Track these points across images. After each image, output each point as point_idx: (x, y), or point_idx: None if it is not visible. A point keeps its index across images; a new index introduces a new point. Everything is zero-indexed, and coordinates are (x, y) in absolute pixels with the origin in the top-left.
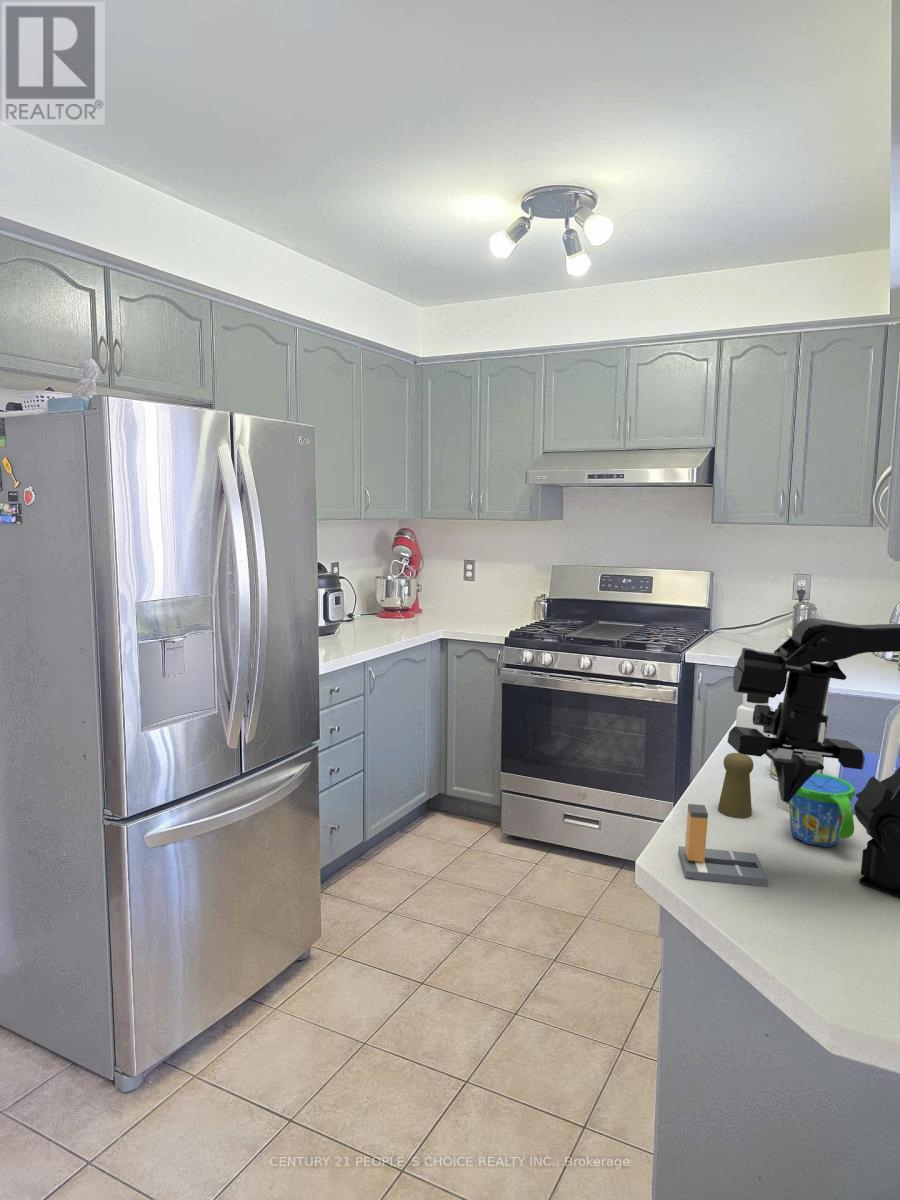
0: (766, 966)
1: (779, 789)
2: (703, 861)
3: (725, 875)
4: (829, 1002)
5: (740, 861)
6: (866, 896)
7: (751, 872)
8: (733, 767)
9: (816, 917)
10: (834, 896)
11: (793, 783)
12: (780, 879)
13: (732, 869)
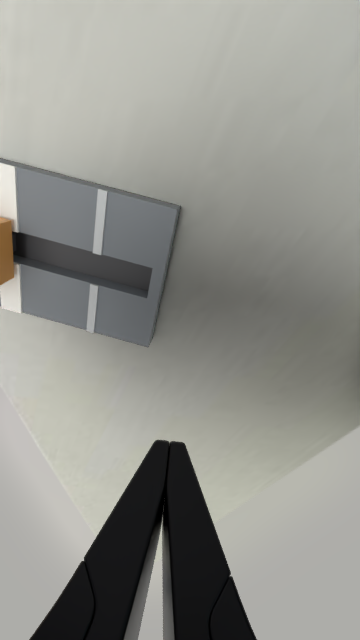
0: (70, 494)
1: (131, 480)
2: (11, 277)
3: (60, 321)
4: None
5: (114, 257)
6: (346, 390)
7: (120, 317)
8: None
9: (190, 431)
10: (274, 382)
11: (164, 619)
12: (197, 310)
13: (80, 301)
